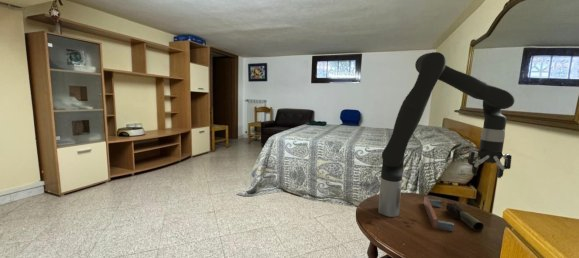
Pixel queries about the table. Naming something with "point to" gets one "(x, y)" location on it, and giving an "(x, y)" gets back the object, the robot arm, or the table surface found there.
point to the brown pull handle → (432, 216)
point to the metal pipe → (463, 216)
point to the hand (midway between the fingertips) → (486, 176)
